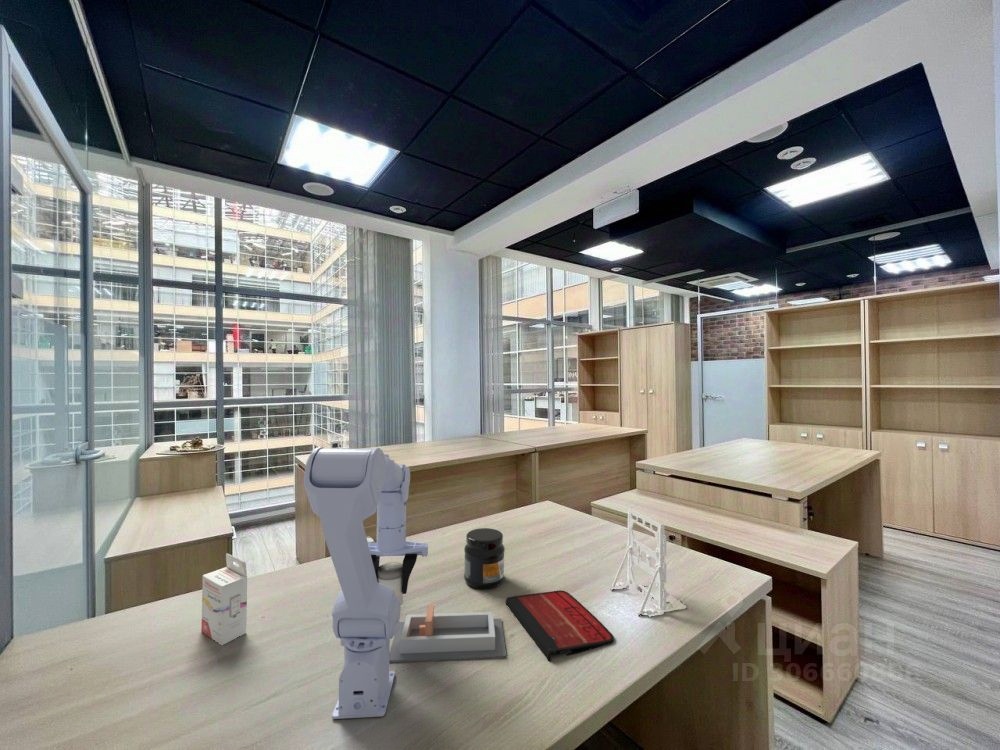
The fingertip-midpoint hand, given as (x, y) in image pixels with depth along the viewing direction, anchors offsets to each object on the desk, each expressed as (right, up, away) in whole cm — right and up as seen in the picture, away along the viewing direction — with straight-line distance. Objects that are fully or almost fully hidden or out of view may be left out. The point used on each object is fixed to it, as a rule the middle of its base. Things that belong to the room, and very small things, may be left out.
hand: (390, 591), depth 82 cm
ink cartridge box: (-34, -9, +1) cm, 36 cm away
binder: (+35, -11, +6) cm, 37 cm away
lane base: (+12, -10, 0) cm, 15 cm away
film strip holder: (+58, -11, +16) cm, 61 cm away
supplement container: (+18, -10, +24) cm, 32 cm away
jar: (0, -2, 0) cm, 2 cm away
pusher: (+7, -9, -1) cm, 11 cm away
